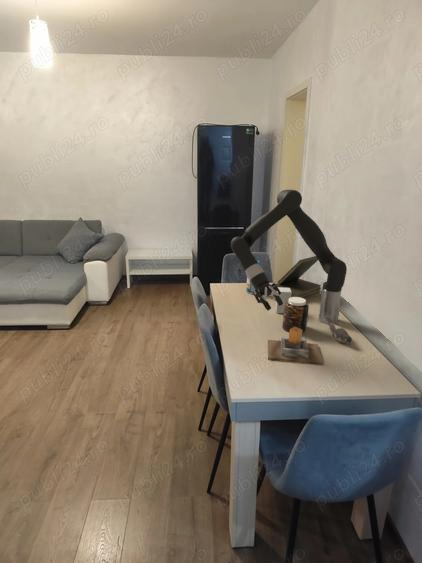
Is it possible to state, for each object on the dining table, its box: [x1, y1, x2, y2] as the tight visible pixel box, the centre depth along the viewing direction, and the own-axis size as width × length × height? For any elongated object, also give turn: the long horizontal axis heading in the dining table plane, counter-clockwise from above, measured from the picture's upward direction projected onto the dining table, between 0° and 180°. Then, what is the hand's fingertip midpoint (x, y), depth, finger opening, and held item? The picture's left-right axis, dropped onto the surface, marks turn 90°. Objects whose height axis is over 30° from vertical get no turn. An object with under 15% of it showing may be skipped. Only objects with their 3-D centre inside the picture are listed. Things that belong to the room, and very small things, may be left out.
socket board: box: [267, 337, 324, 366], centre depth 157 cm, size 22×16×4 cm
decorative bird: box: [324, 317, 353, 346], centre depth 173 cm, size 6×25×5 cm, turn 9°
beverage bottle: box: [245, 260, 261, 295], centre depth 226 cm, size 8×8×20 cm
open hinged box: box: [275, 255, 322, 300], centre depth 225 cm, size 23×20×25 cm
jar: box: [282, 297, 310, 333], centre depth 179 cm, size 12×12×15 cm
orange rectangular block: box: [288, 327, 303, 349], centre depth 156 cm, size 5×4×10 cm
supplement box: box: [275, 287, 292, 314], centre depth 199 cm, size 7×7×13 cm
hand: (275, 307), depth 160 cm, fingers open, 8 cm apart
